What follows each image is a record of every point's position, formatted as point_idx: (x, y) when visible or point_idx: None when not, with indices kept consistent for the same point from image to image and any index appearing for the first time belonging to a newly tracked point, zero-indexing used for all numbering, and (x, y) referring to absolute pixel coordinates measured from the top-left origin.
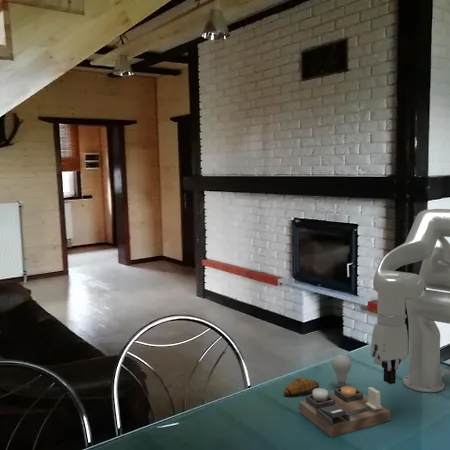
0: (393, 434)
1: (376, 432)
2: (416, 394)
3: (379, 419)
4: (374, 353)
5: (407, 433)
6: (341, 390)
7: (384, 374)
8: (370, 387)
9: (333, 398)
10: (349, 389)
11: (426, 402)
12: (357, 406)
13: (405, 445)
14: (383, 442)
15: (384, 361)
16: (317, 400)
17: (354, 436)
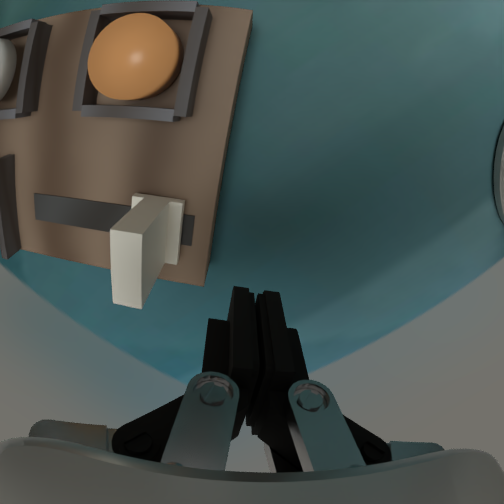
0: (149, 318)
1: (109, 282)
2: (474, 192)
3: None
4: (62, 481)
5: (192, 337)
6: (92, 47)
7: (204, 351)
8: (129, 234)
9: (72, 50)
10: (130, 59)
11: (440, 251)
12: (102, 173)
13: (140, 360)
14: (96, 323)
15: (206, 452)
16: (18, 45)
17: (43, 257)
